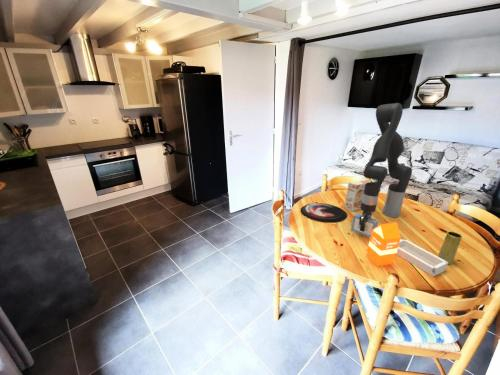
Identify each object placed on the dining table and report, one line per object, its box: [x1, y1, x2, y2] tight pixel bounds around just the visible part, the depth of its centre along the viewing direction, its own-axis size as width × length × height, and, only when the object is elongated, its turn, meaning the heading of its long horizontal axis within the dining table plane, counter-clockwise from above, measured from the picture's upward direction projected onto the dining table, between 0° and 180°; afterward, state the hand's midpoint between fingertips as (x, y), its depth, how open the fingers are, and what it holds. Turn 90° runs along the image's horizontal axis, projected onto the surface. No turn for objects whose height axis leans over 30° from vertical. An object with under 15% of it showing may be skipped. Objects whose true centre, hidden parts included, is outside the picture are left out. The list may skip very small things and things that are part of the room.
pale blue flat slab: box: [350, 212, 380, 239], centre depth 129 cm, size 4×12×10 cm, turn 45°
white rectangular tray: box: [396, 238, 449, 277], centre depth 109 cm, size 9×20×4 cm, turn 25°
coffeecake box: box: [343, 178, 372, 213], centre depth 157 cm, size 15×7×20 cm, turn 120°
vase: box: [437, 231, 463, 265], centre depth 107 cm, size 6×6×14 cm
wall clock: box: [300, 202, 348, 223], centre depth 154 cm, size 27×5×30 cm
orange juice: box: [365, 221, 402, 267], centre depth 106 cm, size 8×9×20 cm
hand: (363, 229), depth 130 cm, fingers closed on pale blue flat slab, 4 cm apart
